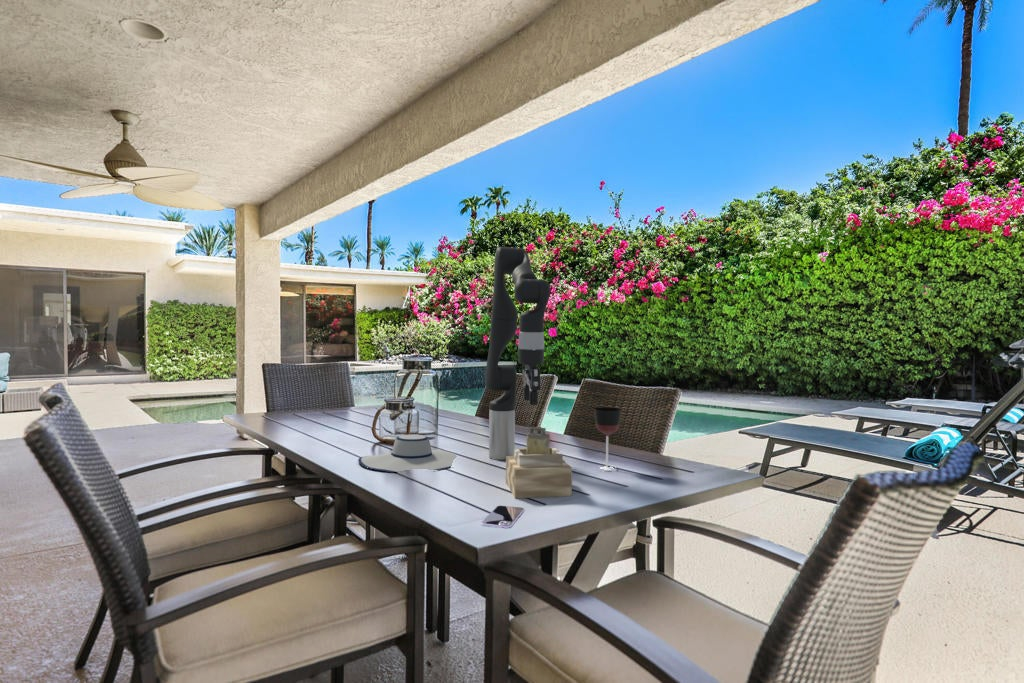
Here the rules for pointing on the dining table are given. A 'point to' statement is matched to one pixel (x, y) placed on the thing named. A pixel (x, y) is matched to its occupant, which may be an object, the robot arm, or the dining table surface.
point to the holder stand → (538, 474)
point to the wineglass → (607, 425)
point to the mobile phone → (503, 516)
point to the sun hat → (410, 456)
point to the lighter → (537, 441)
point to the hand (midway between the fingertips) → (530, 402)
